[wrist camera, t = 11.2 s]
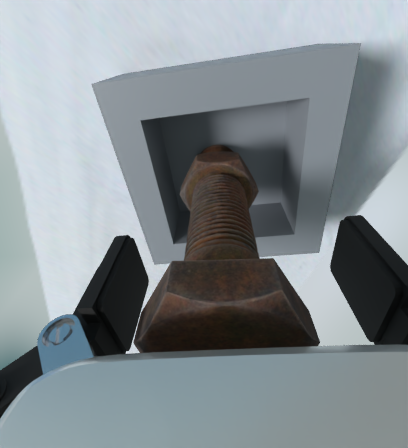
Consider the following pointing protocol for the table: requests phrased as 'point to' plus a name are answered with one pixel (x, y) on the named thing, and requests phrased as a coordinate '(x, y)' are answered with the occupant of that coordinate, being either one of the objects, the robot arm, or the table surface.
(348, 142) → the table surface
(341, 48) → the socket block
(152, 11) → the table surface
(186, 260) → the bolt
